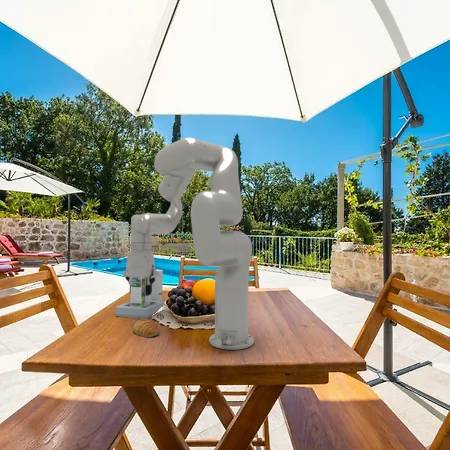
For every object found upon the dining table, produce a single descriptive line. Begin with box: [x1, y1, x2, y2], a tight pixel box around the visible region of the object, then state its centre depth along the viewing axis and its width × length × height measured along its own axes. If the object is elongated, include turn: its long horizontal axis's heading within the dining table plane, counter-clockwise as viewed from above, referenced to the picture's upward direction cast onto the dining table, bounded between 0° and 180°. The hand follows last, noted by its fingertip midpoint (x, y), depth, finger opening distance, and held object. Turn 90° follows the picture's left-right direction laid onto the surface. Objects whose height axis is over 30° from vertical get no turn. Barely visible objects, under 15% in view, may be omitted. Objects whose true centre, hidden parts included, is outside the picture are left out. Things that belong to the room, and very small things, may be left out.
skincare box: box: [150, 269, 164, 302], centre depth 136 cm, size 8×6×15 cm
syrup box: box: [129, 277, 151, 308], centre depth 121 cm, size 6×6×14 cm
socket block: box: [114, 300, 165, 320], centre depth 121 cm, size 13×13×4 cm
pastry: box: [132, 319, 160, 338], centre depth 98 cm, size 9×7×4 cm
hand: (140, 294), depth 121 cm, fingers closed on syrup box, 5 cm apart
